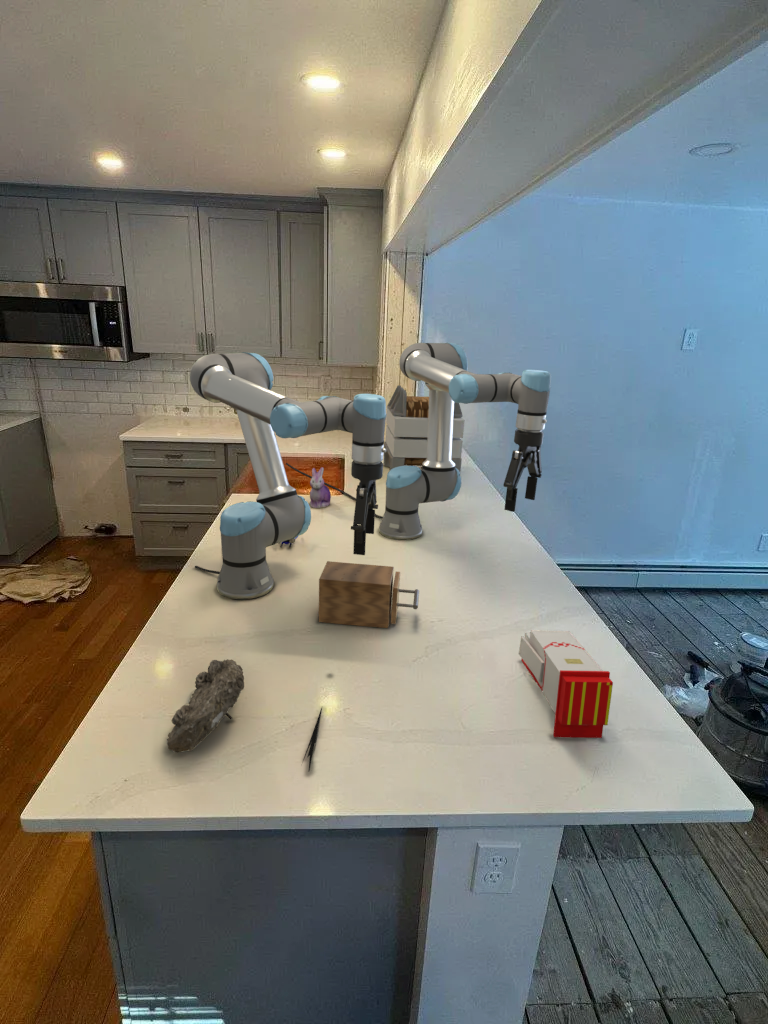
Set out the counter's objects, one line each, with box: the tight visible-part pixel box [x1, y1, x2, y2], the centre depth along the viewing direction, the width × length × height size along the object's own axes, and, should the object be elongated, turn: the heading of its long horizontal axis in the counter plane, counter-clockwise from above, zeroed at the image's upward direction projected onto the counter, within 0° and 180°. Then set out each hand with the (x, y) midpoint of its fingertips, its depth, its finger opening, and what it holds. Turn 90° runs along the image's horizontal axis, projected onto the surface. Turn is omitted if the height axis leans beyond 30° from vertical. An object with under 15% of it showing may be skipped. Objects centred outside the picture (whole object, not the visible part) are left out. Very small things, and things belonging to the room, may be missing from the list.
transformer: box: [382, 384, 465, 475], centre depth 268 cm, size 34×33×41 cm
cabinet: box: [318, 560, 395, 629], centre depth 144 cm, size 17×10×12 cm, turn 84°
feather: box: [301, 673, 332, 771], centre depth 108 cm, size 2×28×2 cm
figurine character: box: [279, 536, 299, 549], centre depth 188 cm, size 7×8×15 cm
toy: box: [518, 629, 614, 739], centre depth 118 cm, size 12×13×30 cm
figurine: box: [309, 466, 332, 509], centre depth 223 cm, size 9×10×15 cm
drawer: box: [390, 571, 420, 625], centre depth 144 cm, size 21×9×10 cm, turn 85°
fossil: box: [166, 658, 245, 754], centre depth 106 cm, size 22×10×15 cm
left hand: (364, 543), depth 142 cm, fingers open, 13 cm apart
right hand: (519, 504), depth 159 cm, fingers open, 13 cm apart
